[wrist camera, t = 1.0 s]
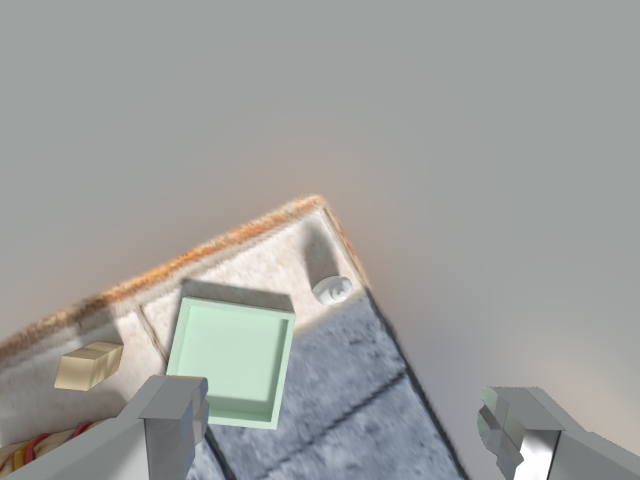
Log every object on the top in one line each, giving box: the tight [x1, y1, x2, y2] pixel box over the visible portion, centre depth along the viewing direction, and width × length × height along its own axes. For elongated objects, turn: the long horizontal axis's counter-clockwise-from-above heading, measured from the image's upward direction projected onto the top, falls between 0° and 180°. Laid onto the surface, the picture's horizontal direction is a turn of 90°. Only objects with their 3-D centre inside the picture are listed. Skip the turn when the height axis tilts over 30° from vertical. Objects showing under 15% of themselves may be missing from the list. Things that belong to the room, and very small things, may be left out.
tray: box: [166, 296, 296, 430], centre depth 49 cm, size 18×18×3 cm
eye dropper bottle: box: [312, 276, 353, 305], centre depth 48 cm, size 4×6×12 cm
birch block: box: [54, 341, 124, 391], centre depth 43 cm, size 4×4×8 cm
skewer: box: [0, 418, 109, 479], centre depth 44 cm, size 21×6×5 cm, turn 100°
